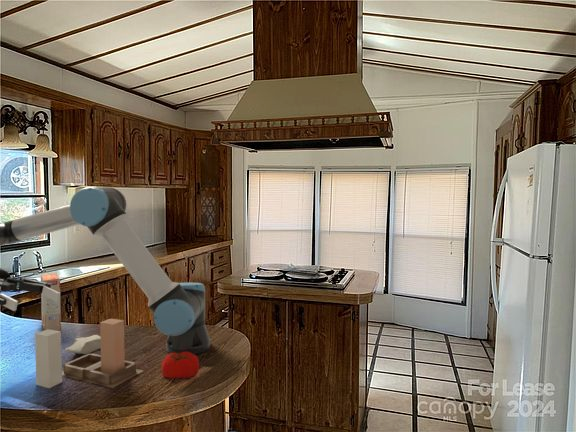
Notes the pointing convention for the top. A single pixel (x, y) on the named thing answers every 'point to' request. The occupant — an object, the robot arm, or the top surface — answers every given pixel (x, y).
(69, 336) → the top surface
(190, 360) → the tomato
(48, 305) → the cracker box
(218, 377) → the top surface
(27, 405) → the top surface
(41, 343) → the white rectangular block
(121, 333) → the salmon orange block
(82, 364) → the rack
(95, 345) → the rock
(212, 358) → the top surface
